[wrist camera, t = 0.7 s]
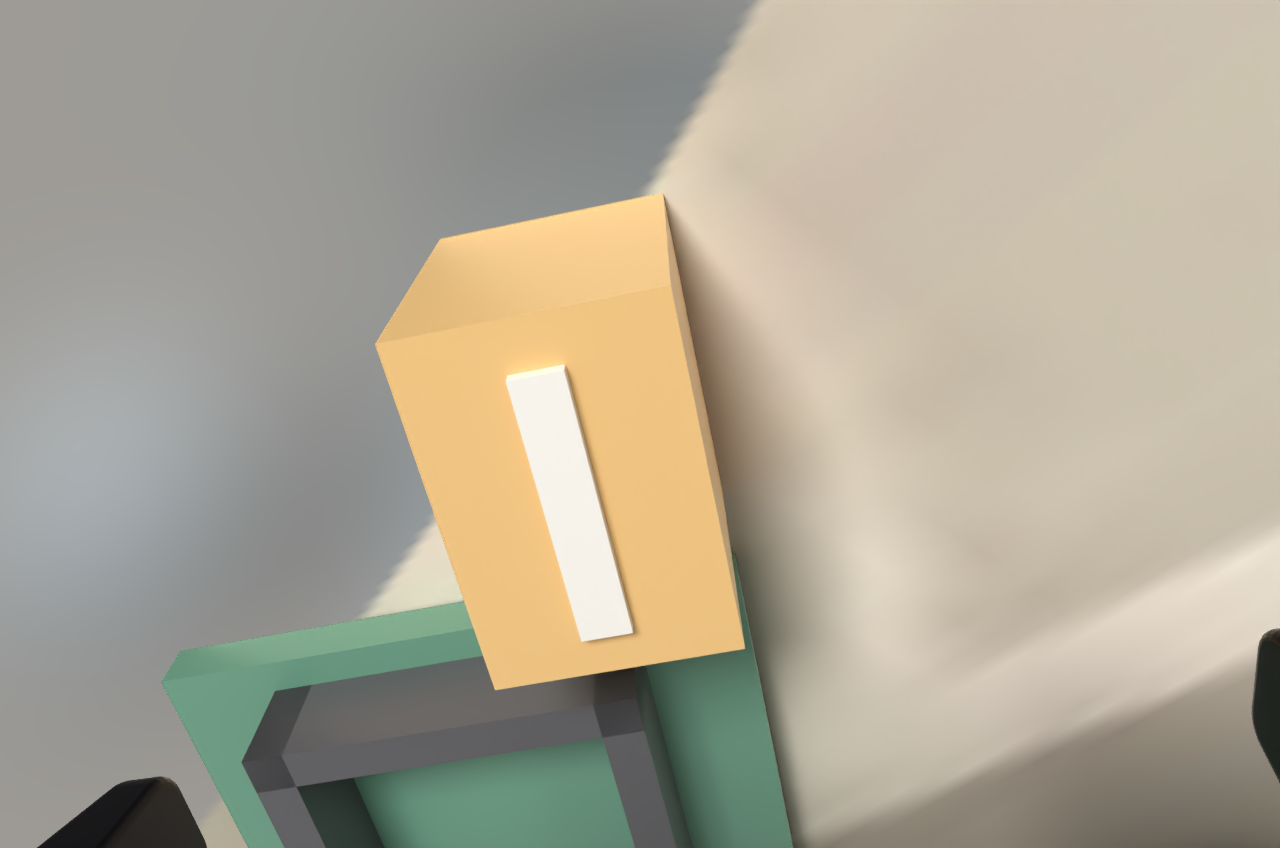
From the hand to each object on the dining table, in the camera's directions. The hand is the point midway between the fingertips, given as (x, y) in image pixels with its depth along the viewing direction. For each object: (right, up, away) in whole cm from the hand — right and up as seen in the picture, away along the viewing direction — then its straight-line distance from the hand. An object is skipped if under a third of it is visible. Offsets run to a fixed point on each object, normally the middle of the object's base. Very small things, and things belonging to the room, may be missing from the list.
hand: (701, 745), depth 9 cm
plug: (-1, +4, +11) cm, 11 cm away
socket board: (-3, -6, +15) cm, 17 cm away
